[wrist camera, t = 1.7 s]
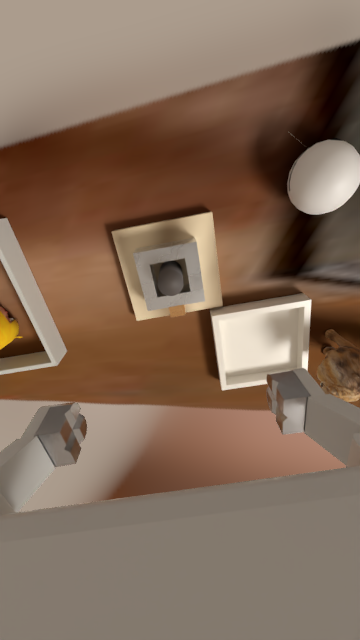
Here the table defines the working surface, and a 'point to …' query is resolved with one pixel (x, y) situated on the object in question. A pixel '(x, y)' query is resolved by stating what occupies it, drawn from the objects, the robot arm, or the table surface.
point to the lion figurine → (340, 369)
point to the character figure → (7, 328)
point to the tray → (260, 339)
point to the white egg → (324, 176)
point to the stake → (174, 271)
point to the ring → (163, 254)
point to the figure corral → (28, 307)
